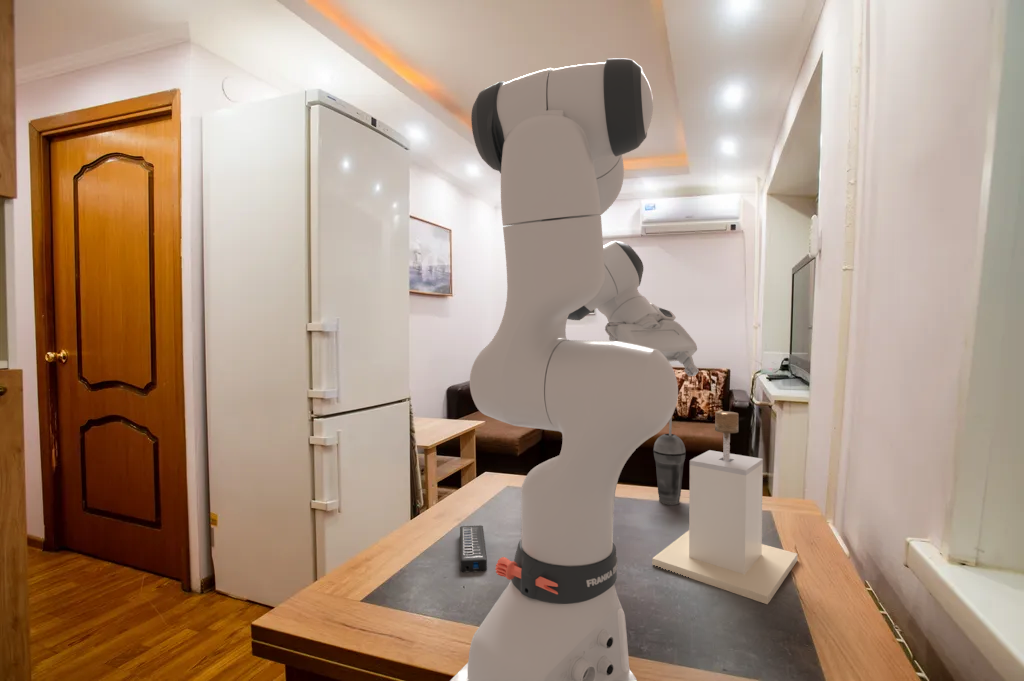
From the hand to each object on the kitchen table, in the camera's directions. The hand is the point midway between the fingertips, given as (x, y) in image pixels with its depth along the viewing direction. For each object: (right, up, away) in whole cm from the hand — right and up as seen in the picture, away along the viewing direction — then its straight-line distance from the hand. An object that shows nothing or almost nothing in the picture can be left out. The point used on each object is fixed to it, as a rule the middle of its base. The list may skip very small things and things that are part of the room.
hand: (680, 376), depth 92 cm
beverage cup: (+5, -31, +24) cm, 39 cm away
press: (+6, -31, -6) cm, 33 cm away
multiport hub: (-38, -32, -2) cm, 50 cm away
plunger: (+6, -24, -6) cm, 26 cm away
